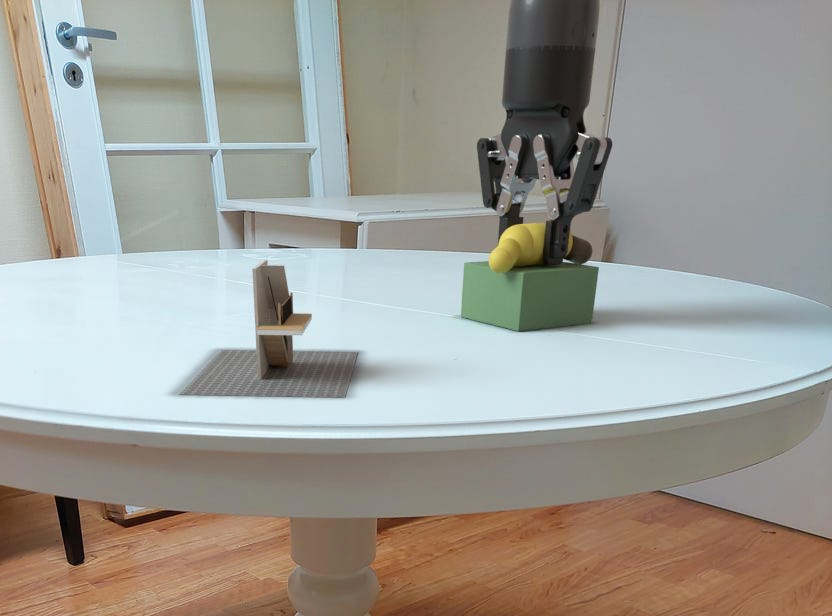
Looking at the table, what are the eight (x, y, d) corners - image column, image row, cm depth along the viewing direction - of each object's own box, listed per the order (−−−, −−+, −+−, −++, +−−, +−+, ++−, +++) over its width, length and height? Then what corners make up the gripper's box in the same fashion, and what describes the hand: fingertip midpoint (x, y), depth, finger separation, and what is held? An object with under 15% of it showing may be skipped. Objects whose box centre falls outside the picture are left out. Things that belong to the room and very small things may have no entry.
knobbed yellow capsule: (560, 237, 88) (585, 211, 85) (580, 273, 88) (605, 247, 85) (465, 246, 81) (488, 217, 78) (486, 285, 80) (510, 257, 77)
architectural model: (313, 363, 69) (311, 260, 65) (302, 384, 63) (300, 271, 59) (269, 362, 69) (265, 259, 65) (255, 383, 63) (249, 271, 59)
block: (531, 309, 92) (536, 257, 89) (592, 323, 85) (599, 266, 82) (460, 317, 88) (463, 262, 85) (518, 331, 81) (523, 272, 78)
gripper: (648, 42, 73) (617, 266, 81) (516, 53, 82) (500, 253, 91) (592, 35, 68) (565, 272, 77) (459, 48, 78) (448, 258, 86)
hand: (530, 260), depth 84 cm, fingers open, 4 cm apart
